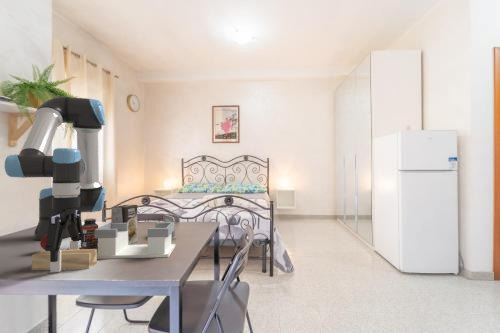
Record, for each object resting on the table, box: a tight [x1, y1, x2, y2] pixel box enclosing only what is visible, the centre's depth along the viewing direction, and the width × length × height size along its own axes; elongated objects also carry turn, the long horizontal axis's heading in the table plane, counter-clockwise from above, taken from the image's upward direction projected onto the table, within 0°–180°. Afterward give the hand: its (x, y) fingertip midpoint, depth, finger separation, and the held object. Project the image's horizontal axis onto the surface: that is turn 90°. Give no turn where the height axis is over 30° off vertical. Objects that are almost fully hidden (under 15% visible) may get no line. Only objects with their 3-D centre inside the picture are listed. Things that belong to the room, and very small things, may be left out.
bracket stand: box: [95, 221, 176, 260], centre depth 103 cm, size 14×26×10 cm, turn 95°
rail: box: [31, 248, 98, 271], centre depth 88 cm, size 5×17×5 cm, turn 95°
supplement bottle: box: [80, 218, 99, 249], centre depth 110 cm, size 6×6×11 cm
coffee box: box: [110, 204, 138, 245], centre depth 115 cm, size 9×6×16 cm
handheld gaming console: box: [146, 214, 177, 241], centre depth 125 cm, size 13×9×10 cm
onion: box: [39, 234, 47, 250], centre depth 103 cm, size 6×6×8 cm
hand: (65, 265), depth 88 cm, fingers open, 9 cm apart
